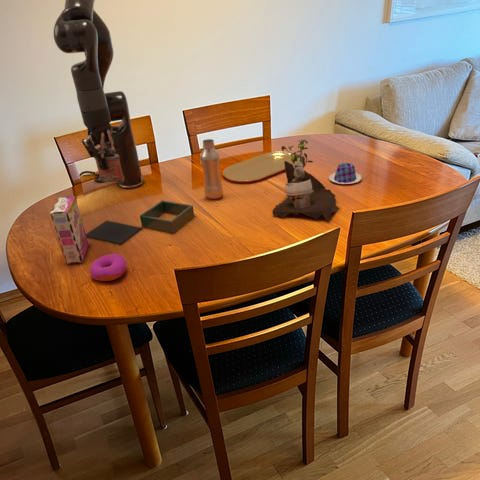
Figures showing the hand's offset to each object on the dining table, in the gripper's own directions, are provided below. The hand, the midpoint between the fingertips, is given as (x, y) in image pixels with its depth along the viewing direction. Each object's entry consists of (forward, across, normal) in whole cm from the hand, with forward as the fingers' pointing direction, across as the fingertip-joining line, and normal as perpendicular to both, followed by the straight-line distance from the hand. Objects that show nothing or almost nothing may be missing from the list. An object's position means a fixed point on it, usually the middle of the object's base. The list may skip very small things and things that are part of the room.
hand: (108, 167), depth 137 cm
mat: (+21, +3, -3) cm, 21 cm away
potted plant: (+21, -36, +50) cm, 65 cm away
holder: (+21, -10, +10) cm, 26 cm away
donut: (+21, +23, +13) cm, 34 cm away
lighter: (+4, 0, 0) cm, 4 cm away
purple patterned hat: (+21, -62, +55) cm, 85 cm away
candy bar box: (+21, +18, -4) cm, 28 cm away
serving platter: (+21, -62, +21) cm, 69 cm away
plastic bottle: (+21, -32, +16) cm, 42 cm away
